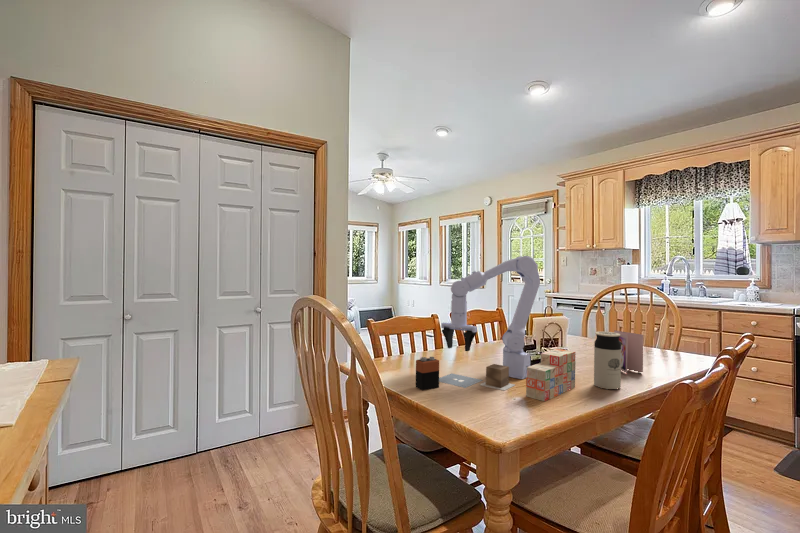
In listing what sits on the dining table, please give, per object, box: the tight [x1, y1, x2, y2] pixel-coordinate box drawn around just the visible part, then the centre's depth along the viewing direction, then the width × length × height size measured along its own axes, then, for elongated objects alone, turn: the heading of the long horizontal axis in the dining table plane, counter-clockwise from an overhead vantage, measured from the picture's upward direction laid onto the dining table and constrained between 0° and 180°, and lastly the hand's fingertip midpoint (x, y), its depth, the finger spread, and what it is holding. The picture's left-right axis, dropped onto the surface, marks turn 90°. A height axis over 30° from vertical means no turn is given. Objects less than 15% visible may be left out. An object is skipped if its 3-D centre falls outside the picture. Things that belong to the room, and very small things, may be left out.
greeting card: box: [614, 330, 644, 374], centre depth 155 cm, size 11×7×15 cm, turn 174°
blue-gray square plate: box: [439, 372, 484, 389], centre depth 141 cm, size 13×12×1 cm
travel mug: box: [593, 331, 622, 390], centre depth 135 cm, size 8×8×18 cm
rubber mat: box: [479, 381, 516, 392], centre depth 135 cm, size 9×8×1 cm
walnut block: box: [485, 363, 510, 388], centre depth 135 cm, size 6×6×6 cm
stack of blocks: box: [525, 348, 576, 402], centre depth 129 cm, size 21×6×12 cm, turn 134°
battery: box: [415, 356, 440, 391], centre depth 132 cm, size 4×7×10 cm, turn 121°
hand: (458, 349), depth 150 cm, fingers open, 7 cm apart
